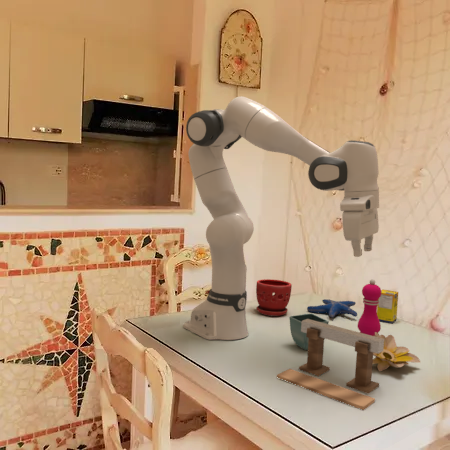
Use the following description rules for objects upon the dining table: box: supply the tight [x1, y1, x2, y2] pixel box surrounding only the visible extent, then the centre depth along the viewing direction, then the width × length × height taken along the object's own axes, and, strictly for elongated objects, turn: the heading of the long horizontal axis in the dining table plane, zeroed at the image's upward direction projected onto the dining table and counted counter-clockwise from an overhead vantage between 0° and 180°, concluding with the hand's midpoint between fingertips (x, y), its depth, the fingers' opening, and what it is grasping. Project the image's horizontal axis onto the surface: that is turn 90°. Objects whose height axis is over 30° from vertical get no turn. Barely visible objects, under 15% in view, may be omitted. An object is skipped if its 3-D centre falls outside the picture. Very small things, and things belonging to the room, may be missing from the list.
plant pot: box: [255, 278, 293, 317], centre depth 186 cm, size 13×13×12 cm
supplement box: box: [377, 289, 399, 324], centre depth 183 cm, size 6×6×11 cm
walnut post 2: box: [345, 341, 380, 395], centre depth 124 cm, size 6×6×12 cm
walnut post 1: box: [298, 328, 331, 377], centre depth 133 cm, size 6×6×12 cm
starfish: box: [306, 298, 358, 318], centre depth 189 cm, size 19×19×5 cm
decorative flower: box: [372, 332, 421, 372], centre depth 137 cm, size 15×11×10 cm
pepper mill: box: [357, 279, 382, 336], centre depth 160 cm, size 7×7×20 cm
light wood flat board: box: [276, 368, 376, 411], centre depth 122 cm, size 24×6×1 cm, turn 49°
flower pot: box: [288, 313, 330, 351], centre depth 151 cm, size 9×9×9 cm
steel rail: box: [301, 319, 384, 354], centre depth 128 cm, size 22×3×3 cm, turn 49°
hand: (363, 253), depth 132 cm, fingers open, 8 cm apart
